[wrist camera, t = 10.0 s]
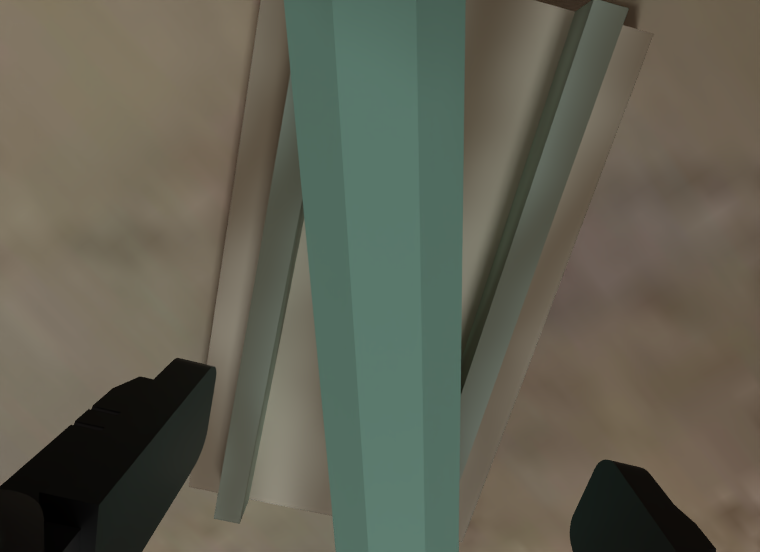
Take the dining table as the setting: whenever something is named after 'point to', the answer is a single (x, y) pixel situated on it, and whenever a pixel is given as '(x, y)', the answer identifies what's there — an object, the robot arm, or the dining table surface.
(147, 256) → the dining table surface
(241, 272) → the rail
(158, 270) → the dining table surface
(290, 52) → the teal green cylinder
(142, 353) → the dining table surface
